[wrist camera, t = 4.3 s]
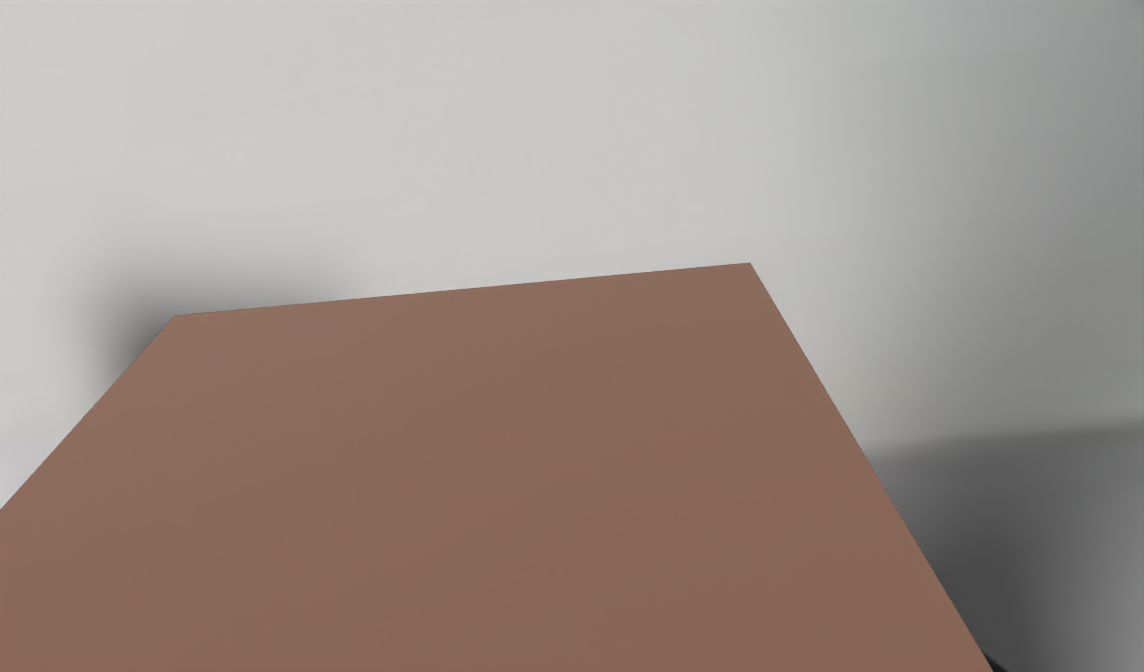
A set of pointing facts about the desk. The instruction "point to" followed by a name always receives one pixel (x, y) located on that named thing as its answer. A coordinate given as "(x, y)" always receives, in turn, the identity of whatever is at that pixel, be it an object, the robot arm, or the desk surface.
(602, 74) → the desk surface
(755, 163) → the desk surface
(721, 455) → the terracotta block
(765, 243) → the desk surface
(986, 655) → the robot arm
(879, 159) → the desk surface
